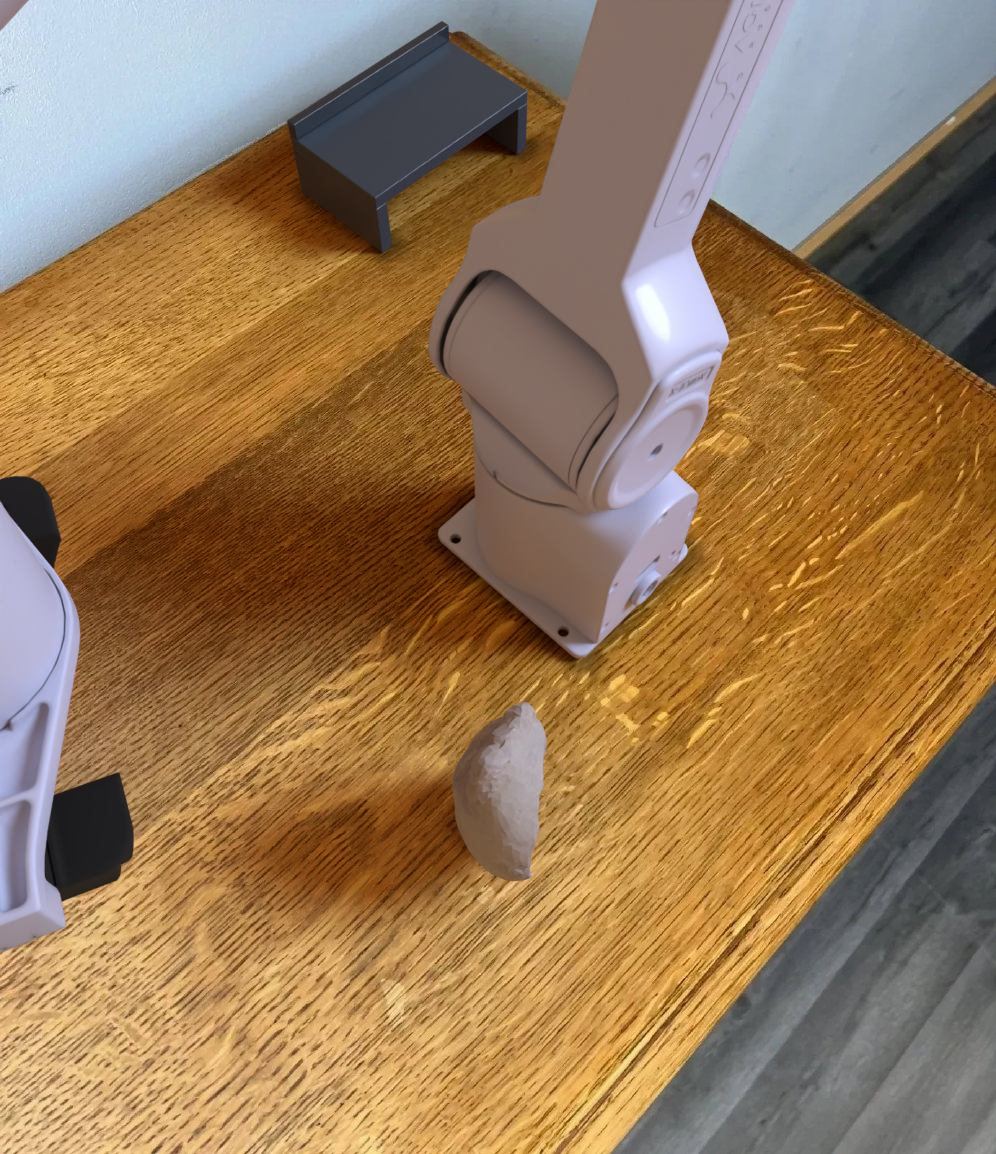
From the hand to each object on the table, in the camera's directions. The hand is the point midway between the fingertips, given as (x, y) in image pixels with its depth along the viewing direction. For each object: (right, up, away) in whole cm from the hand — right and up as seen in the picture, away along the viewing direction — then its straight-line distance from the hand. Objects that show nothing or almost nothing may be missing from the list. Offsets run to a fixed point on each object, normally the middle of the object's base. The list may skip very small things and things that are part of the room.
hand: (60, 768), depth 32 cm
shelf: (+9, +31, +28) cm, 43 cm away
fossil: (+14, -5, +10) cm, 18 cm away
